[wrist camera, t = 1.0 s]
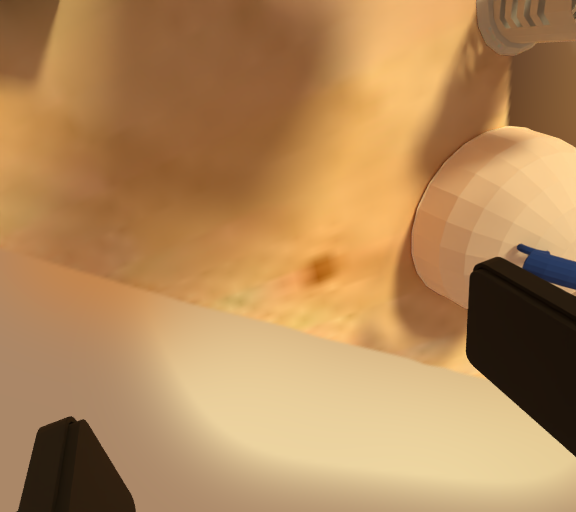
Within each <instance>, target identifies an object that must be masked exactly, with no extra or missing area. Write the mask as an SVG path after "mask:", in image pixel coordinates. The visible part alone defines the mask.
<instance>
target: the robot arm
mask: <svg viewBox="0 0 576 512" xmlns="http://www.w3.org/2000/svg"><path fill="white" fill-rule="evenodd" d="M466 355H467V358H468V360H469V361H470V363H471V364H472V365H473V366H474V367H475V368H476V369H477V370H478V371H479V372H481V373H482V374H483V375H484V376H485V377H486V378H487V379H488V380H490V381H491V382H492V383H493V384H494V385H495V386H496V387H498V388H499V389H500V390H501V391H502V392H503V393H504V394H506V395H507V396H508V397H509V398H510V399H511V400H512V401H513V402H514V403H516V404H517V405H518V406H519V407H520V408H521V409H522V410H524V411H525V412H526V413H527V414H528V415H529V416H530V417H531V418H533V419H534V420H535V421H536V422H537V423H538V424H539V425H540V426H542V427H543V428H544V429H545V430H546V431H547V432H549V433H550V434H551V435H552V436H553V437H554V438H555V439H556V440H558V441H559V442H560V443H561V444H562V445H563V446H564V447H565V448H566V449H567V450H569V451H570V452H571V453H572V454H573V455H574V456H575V457H576V296H574V295H572V294H570V293H568V292H566V291H564V290H563V289H561V288H559V287H557V286H555V285H553V284H551V283H549V282H547V281H545V280H544V279H542V278H540V277H538V276H536V275H534V274H532V273H530V272H528V271H527V270H525V269H523V268H521V267H519V266H517V265H515V264H513V263H511V262H510V261H508V260H506V259H504V258H501V257H494V258H492V259H489V260H486V261H484V262H481V263H478V264H476V265H475V266H474V268H473V272H472V273H471V274H470V278H469V298H468V319H467V339H466ZM17 512H136V510H135V504H134V500H133V498H132V495H131V493H130V492H129V490H128V489H127V487H126V485H125V484H124V482H123V480H122V479H121V477H120V475H119V474H118V472H117V471H116V469H115V467H114V466H113V464H112V463H111V461H110V459H109V457H108V456H107V454H106V452H105V451H104V449H103V448H102V446H101V444H100V443H99V441H98V439H97V438H96V436H95V434H94V433H93V431H92V429H91V428H90V426H89V424H88V423H87V422H86V420H84V419H83V420H80V421H76V420H75V419H74V418H73V417H72V416H71V417H67V418H64V419H62V420H59V421H57V422H54V423H51V424H48V425H46V426H43V427H41V428H40V429H39V430H38V432H37V435H36V439H35V443H34V447H33V451H32V455H31V460H30V464H29V468H28V472H27V476H26V480H25V484H24V489H23V493H22V497H21V501H20V505H19V509H18V511H17Z"/></svg>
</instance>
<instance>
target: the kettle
mask: <svg viewBox="0 0 576 512" xmlns="http://www.w3.org/2000/svg"><path fill="white" fill-rule="evenodd" d="M411 254H412V258H413V261H414V265H415V268H416V272H417V274H418V275H419V276H420V278H421V279H422V281H423V282H424V283H425V285H426V286H427V287H429V288H430V289H432V290H433V291H435V292H436V293H438V294H439V295H443V296H444V297H446V298H448V299H450V300H451V301H453V302H455V303H456V304H458V305H460V306H462V307H463V308H465V309H468V298H469V278H470V274H471V273H472V272H473V268H474V266H475V265H476V264H478V263H481V262H484V261H486V260H489V259H492V258H494V257H501V258H504V259H506V260H508V261H510V262H511V263H513V264H515V265H517V266H519V267H521V268H523V269H525V270H527V271H528V272H530V273H532V274H534V275H536V276H538V277H540V278H542V279H544V280H545V281H547V282H549V283H551V284H553V285H555V286H557V287H559V288H561V289H563V290H564V291H566V292H568V293H570V294H573V293H574V292H576V148H575V147H574V146H572V145H570V144H568V143H566V142H564V141H563V140H561V139H559V138H555V137H552V136H549V135H545V134H542V133H539V132H535V131H532V130H530V129H528V128H524V127H513V126H506V127H502V128H498V129H494V130H490V131H486V132H484V133H483V134H481V135H479V136H477V137H476V138H474V139H472V140H470V141H468V142H467V143H465V144H464V145H463V146H462V147H461V148H459V149H458V150H457V151H456V152H455V153H454V154H453V155H452V156H451V157H450V158H448V159H447V160H446V161H445V162H444V164H443V165H442V166H441V168H440V169H439V171H438V172H437V173H436V175H435V176H434V177H433V179H432V180H431V181H430V183H429V184H428V186H427V189H426V191H425V193H424V195H423V197H422V199H421V201H420V203H419V206H418V208H417V212H416V216H415V220H414V224H413V228H412V252H411Z"/></svg>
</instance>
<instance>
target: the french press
mask: <svg viewBox="0 0 576 512" xmlns="http://www.w3.org/2000/svg"><path fill="white" fill-rule="evenodd" d="M575 5H576V0H477V1H476V8H477V20H478V28H479V30H480V32H481V34H482V36H483V39H484V41H485V43H486V45H487V46H489V47H490V48H491V49H492V50H494V51H495V52H496V53H498V54H499V55H510V56H516V55H518V54H520V53H522V52H524V51H526V50H529V49H531V48H532V47H533V46H534V45H535V44H536V43H543V42H563V41H576V22H575V19H576V12H575V13H574V14H572V10H573V9H574V8H575Z"/></svg>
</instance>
